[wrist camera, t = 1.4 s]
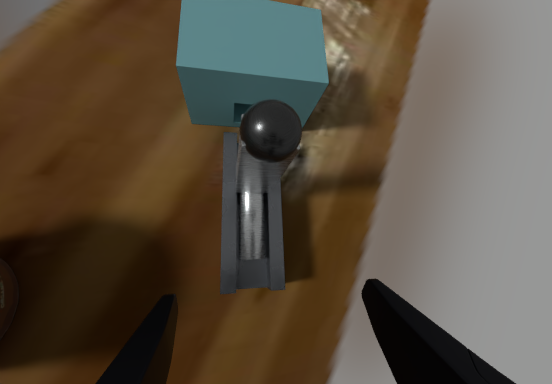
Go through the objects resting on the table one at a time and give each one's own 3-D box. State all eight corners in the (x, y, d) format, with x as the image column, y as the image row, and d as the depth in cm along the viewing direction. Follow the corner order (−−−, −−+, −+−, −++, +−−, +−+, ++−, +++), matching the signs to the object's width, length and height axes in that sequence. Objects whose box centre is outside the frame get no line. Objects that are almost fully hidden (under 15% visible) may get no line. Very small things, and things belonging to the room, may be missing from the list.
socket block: (300, 131, 27) (328, 83, 19) (191, 123, 25) (176, 65, 17) (296, 73, 29) (320, 9, 22) (195, 61, 27) (183, -16, 19)
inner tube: (268, 258, 21) (323, 262, 9) (233, 259, 21) (241, 266, 9) (265, 139, 24) (303, 24, 12) (234, 137, 24) (241, 14, 12)
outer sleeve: (277, 284, 22) (285, 289, 19) (221, 288, 21) (220, 294, 18) (272, 149, 26) (278, 135, 23) (224, 147, 25) (223, 132, 22)
